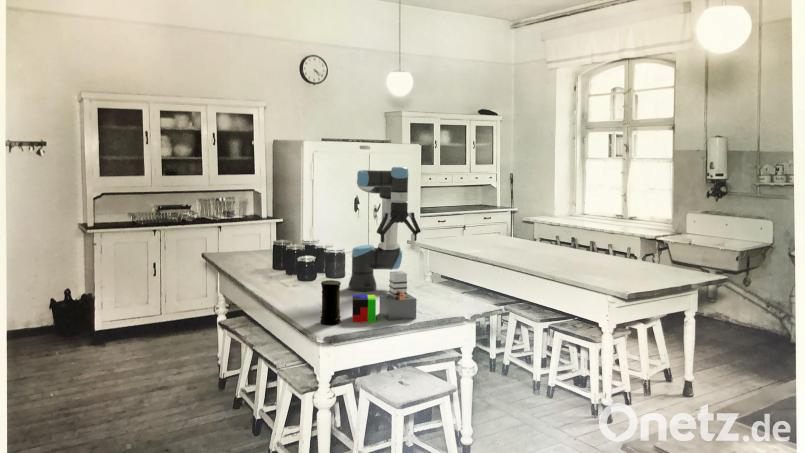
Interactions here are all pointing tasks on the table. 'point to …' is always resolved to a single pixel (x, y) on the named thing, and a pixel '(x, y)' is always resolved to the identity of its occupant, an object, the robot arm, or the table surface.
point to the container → (330, 302)
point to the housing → (398, 307)
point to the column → (397, 284)
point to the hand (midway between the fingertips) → (398, 249)
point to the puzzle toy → (364, 308)
